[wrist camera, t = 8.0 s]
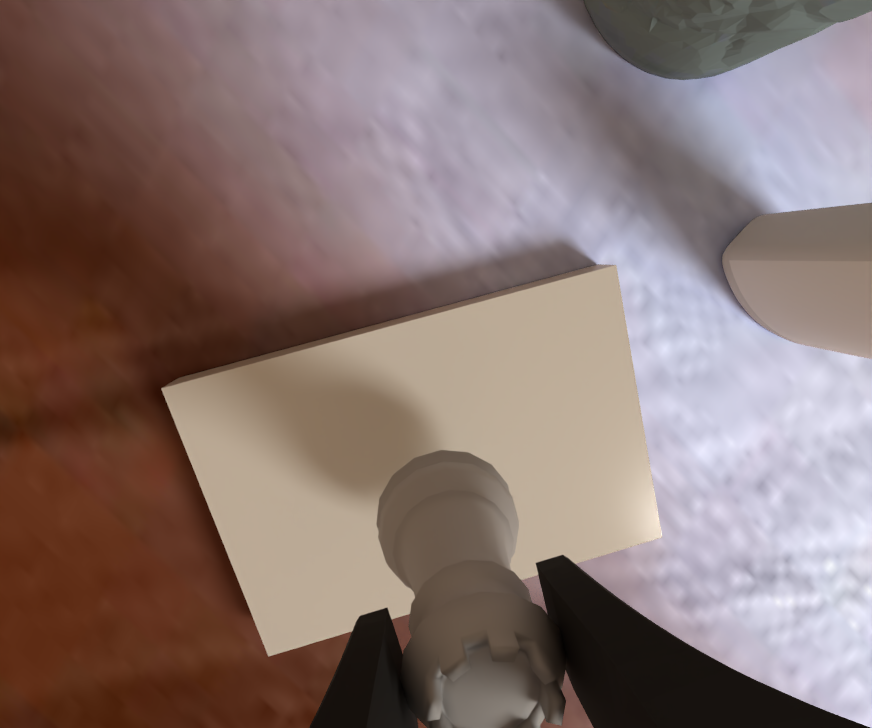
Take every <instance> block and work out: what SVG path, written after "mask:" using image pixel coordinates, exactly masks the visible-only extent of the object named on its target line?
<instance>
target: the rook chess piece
mask: <svg viewBox="0 0 872 728" xmlns="http://www.w3.org/2000/svg"><path fill="white" fill-rule="evenodd" d="M376 525H377V528H378V531H379V533H378V539H379V542H380V545H381V548H382V551H383V555H384V558H385V561H386V563H387V565H388V567H389V568H390V569H391V570H392V571H393V572H394V574H395V575H396V576H397V577H398V578H399V579H400V580H401V581H402V582H403V584H404V585H405V586H406V587H408V588H410V589H411V590H412V591H413V592H414V595H415V598H414V600H413V602H412V604H411V611H410V619H409V630H410V633H411V636H412V637H411V639H410V641H409V642H408V644H407V646H406V648H405V649H404V652H403V660H402V668H401V676H400V681H401V684H402V687H403V691H404V694H405V697H406V700H407V703H408V706H409V709H410V710H411V711H412V713H413V714H414V715H415V716H416V717H417V718H418V719H419V720H420V721H421V722H422V723H423V724H424V725H425V726H426V727H427V728H540V724H541V723H542V721H543V719H544V718H545V719H546V722H548V723H553V724H557V725H562V720H563V714H564V709H565V703H566V700H565V697H564V695H563V693H562V691H561V688H562V686H563V680H564V674H565V669H566V663H567V656H566V652H565V648H564V644H563V640H562V636H561V633H560V629H559V628H558V626H557V625H556V624H555V623H554V622H553V621H552V619H551V618H550V617H549V616H548V615H547V613H546V612H545V611H544V610H543V609H542V607H540V606H538V605H536V604H534V603H532V601H531V597H530V593H529V589H528V588H527V587H526V586H525V584H524V583H523V582H522V581H521V580H520V578H519V577H518V576H517V575H516V574H515V572H513V571H511V567H510V563H511V558H512V557H513V555H514V553H515V549H516V542H517V536H518V529H519V520H518V516H517V512H516V508H515V505H514V501H513V497H512V495H511V494H510V491H509V487H508V484H507V483H506V482H505V480H504V479H503V478H502V477H501V475H500V474H499V473H498V472H497V470H496V469H495V468H494V467H493V466H492V464H490V463H488V462H486V461H484V460H482V459H480V458H478V457H476V456H475V455H473V454H471V453H469V452H460V451H449V450H439V451H435V452H432V453H429V454H425V455H422V456H419V457H415V458H413V459H412V460H411V461H410V462H408V463H407V464H406V465H405V466H403V467H402V468H401V469H399V470H398V471H397V472H396V473H394V474H393V475H392V477H391V479H390V480H389V482H388V484H387V486H386V487H385V489H384V491H383V493H382V494H381V496H380V498H379V505H378V514H377V523H376Z"/></svg>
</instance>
